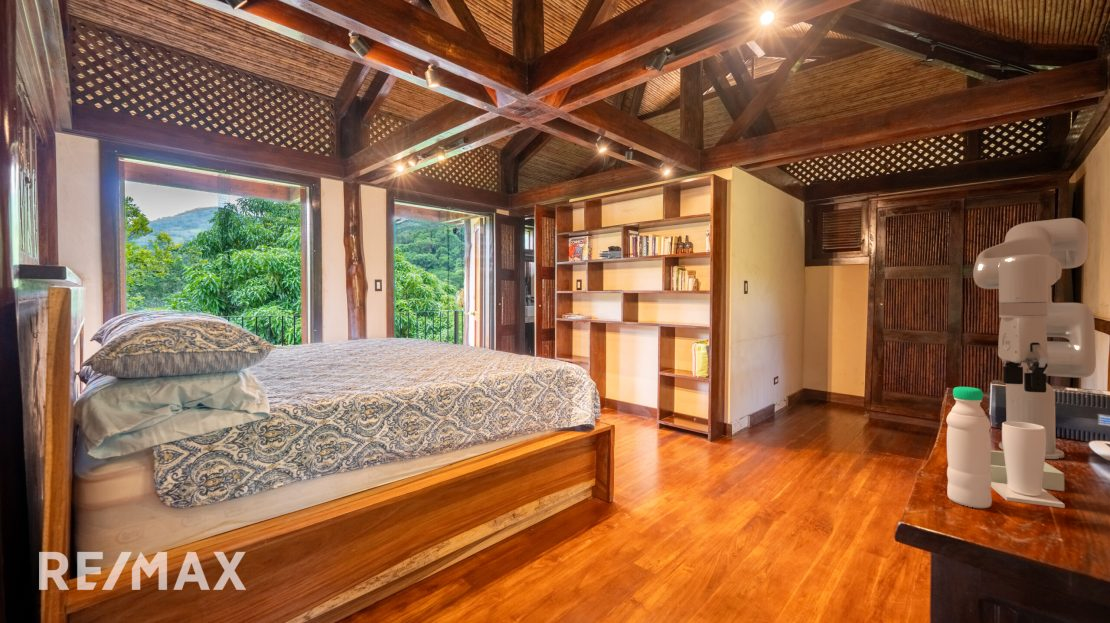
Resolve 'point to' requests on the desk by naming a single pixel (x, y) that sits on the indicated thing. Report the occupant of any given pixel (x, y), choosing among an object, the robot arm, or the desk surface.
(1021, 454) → the drinking glass
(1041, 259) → the robot arm
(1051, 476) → the beige square frame
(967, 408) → the water bottle
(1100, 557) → the desk surface
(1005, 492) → the ceramic tile
